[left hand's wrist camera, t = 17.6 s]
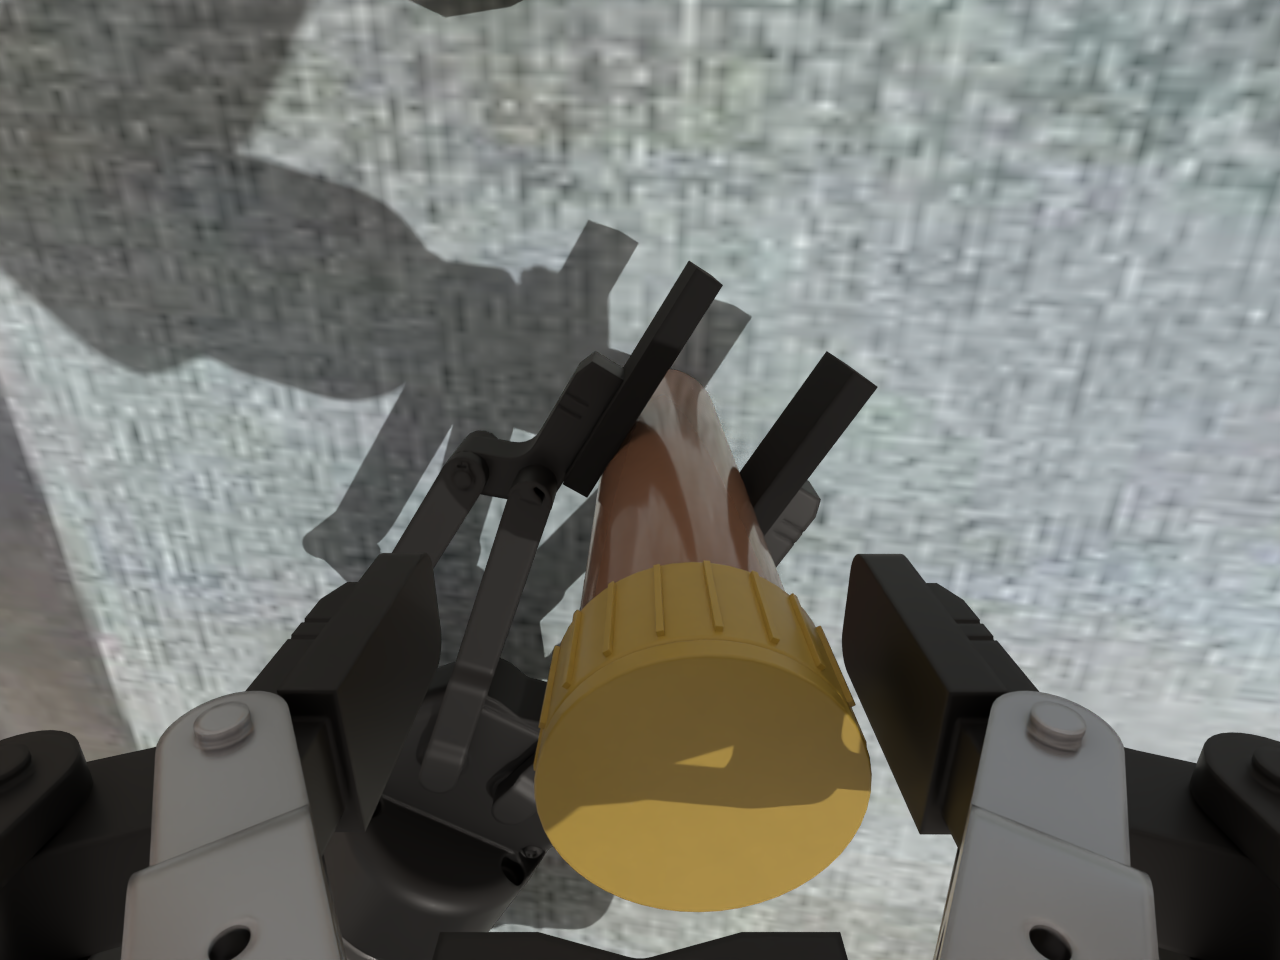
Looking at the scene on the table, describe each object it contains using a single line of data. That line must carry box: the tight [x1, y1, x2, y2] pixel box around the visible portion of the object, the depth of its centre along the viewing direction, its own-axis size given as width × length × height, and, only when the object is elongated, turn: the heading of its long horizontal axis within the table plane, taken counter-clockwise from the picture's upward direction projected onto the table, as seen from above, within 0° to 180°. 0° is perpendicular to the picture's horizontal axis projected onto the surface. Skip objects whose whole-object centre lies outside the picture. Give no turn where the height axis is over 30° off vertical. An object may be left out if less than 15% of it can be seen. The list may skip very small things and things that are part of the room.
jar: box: [580, 369, 785, 611], centre depth 18 cm, size 4×4×17 cm
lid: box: [533, 560, 872, 912], centre depth 10 cm, size 5×5×2 cm
